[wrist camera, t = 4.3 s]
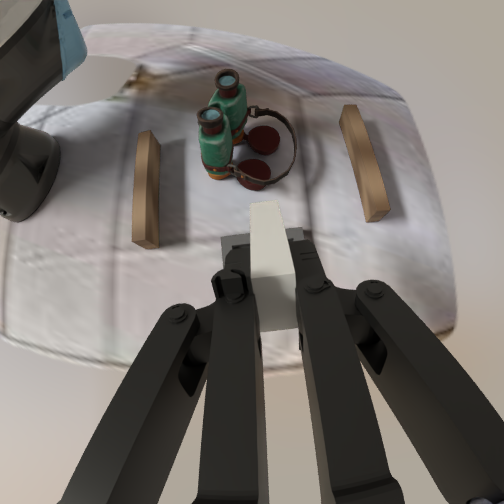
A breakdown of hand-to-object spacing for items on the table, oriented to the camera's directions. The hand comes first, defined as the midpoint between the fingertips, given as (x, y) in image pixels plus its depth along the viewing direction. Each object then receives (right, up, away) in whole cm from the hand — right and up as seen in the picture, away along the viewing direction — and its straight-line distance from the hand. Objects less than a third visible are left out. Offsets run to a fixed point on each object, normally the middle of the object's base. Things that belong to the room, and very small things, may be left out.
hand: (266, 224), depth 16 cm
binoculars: (-1, +9, +15) cm, 18 cm away
